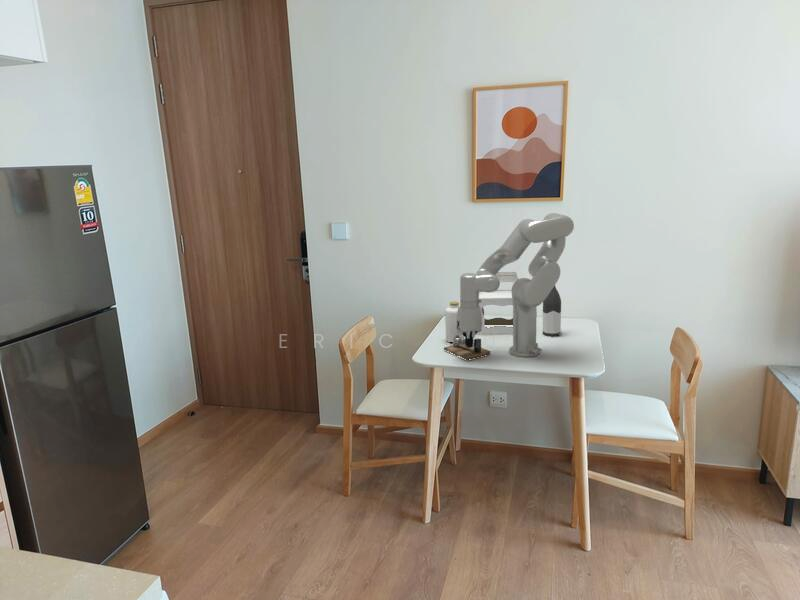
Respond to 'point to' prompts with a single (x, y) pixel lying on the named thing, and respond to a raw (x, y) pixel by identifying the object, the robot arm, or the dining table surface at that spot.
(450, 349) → the board
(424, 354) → the dining table surface
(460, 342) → the lever
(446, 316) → the white container
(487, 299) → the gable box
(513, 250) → the robot arm
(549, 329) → the wine bottle
